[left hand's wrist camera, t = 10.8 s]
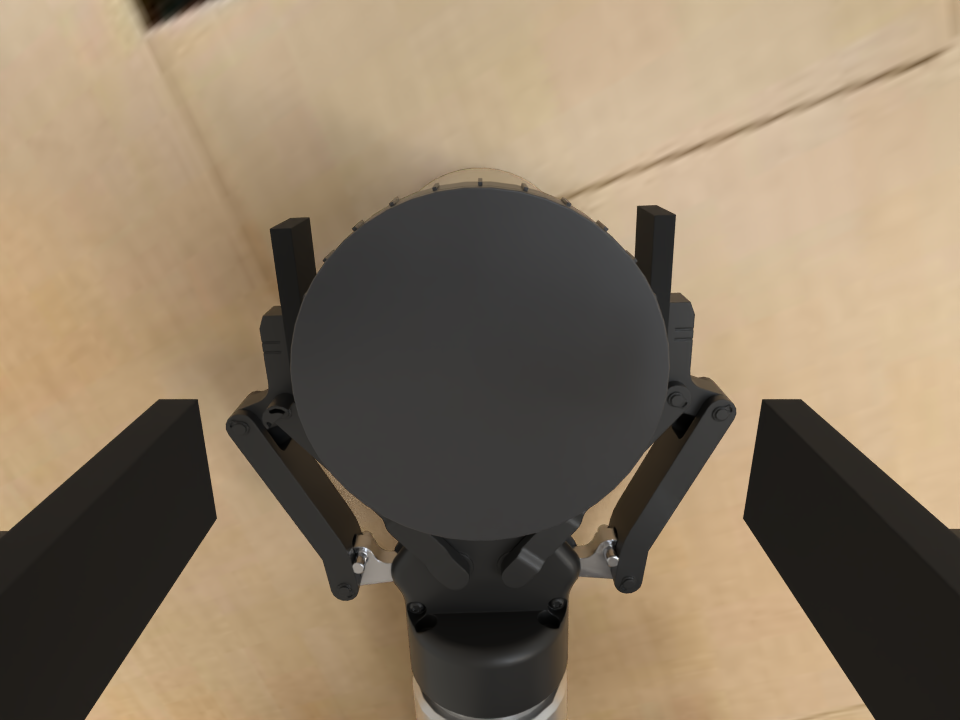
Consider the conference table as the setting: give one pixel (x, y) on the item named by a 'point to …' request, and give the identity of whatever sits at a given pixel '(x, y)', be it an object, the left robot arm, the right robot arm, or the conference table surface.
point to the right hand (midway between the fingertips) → (472, 215)
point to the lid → (479, 361)
